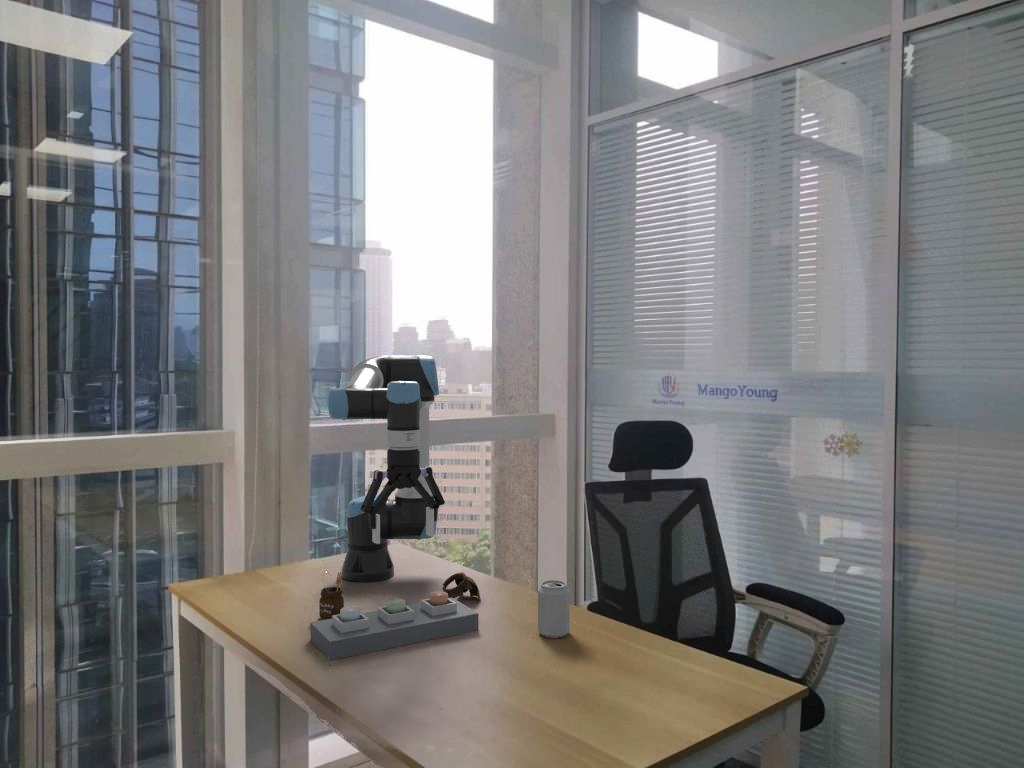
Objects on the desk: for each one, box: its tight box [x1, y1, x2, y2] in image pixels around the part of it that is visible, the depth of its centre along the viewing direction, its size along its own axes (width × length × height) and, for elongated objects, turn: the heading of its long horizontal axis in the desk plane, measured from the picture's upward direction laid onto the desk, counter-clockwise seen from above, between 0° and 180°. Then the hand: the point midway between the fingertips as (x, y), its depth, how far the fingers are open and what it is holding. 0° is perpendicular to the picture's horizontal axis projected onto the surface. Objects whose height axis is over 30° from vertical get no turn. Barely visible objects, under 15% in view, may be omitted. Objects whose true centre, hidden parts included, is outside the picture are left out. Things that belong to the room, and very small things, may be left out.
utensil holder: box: [318, 570, 345, 620], centre depth 194 cm, size 6×6×12 cm
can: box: [537, 579, 571, 639], centre depth 184 cm, size 8×8×12 cm
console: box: [309, 598, 479, 661], centre depth 183 cm, size 14×36×6 cm, turn 121°
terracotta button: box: [429, 590, 448, 605], centre depth 188 cm, size 4×4×2 cm
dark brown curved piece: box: [441, 571, 482, 602], centre depth 209 cm, size 12×10×8 cm
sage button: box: [385, 598, 406, 613], centre depth 183 cm, size 4×4×2 cm
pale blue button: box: [340, 605, 361, 622], centre depth 177 cm, size 4×4×2 cm
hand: (403, 539), depth 183 cm, fingers open, 13 cm apart
